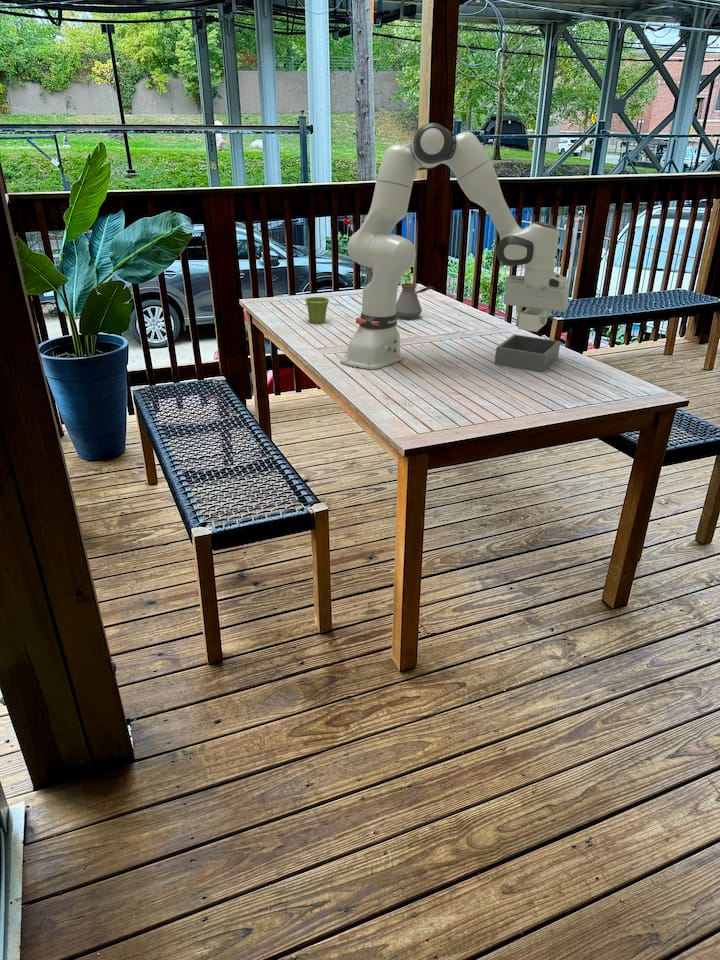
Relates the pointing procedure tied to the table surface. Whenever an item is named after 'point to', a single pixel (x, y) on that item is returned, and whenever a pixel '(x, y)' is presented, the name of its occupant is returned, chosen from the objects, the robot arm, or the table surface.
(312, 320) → the plant pot
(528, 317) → the small crate
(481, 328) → the table surface
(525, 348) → the big crate
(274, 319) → the table surface
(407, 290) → the coffee pot
